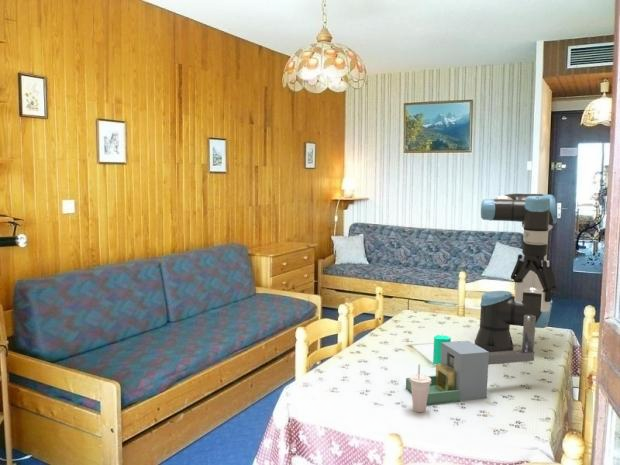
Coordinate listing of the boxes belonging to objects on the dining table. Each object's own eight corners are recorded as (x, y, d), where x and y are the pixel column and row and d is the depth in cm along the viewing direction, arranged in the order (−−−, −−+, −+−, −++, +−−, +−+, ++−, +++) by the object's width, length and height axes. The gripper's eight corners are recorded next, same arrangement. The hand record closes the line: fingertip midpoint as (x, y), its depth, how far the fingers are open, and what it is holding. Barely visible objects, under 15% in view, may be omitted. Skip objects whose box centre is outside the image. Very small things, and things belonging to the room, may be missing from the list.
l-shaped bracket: (528, 357, 186) (531, 314, 184) (535, 360, 182) (538, 317, 181) (448, 364, 178) (450, 319, 176) (454, 368, 174) (456, 322, 173)
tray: (438, 385, 184) (439, 375, 183) (459, 401, 171) (460, 390, 170) (405, 388, 180) (406, 378, 180) (425, 405, 167) (425, 394, 167)
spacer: (441, 386, 181) (442, 363, 180) (454, 396, 173) (455, 371, 172) (435, 387, 180) (436, 363, 179) (447, 397, 172) (448, 372, 172)
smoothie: (406, 405, 167) (407, 360, 166) (426, 404, 168) (428, 360, 166) (411, 414, 161) (413, 368, 160) (433, 413, 162) (434, 368, 160)
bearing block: (466, 383, 185) (468, 340, 184) (486, 397, 174) (488, 351, 172) (439, 386, 183) (441, 342, 181) (458, 400, 171) (460, 354, 170)
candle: (449, 367, 200) (451, 336, 199) (433, 366, 202) (434, 334, 200) (449, 362, 206) (450, 331, 205) (432, 361, 207) (434, 330, 206)
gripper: (502, 238, 191) (499, 297, 193) (551, 249, 167) (547, 316, 169) (520, 237, 193) (517, 296, 195) (572, 248, 169) (567, 315, 171)
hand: (531, 306), depth 182 cm, fingers open, 13 cm apart
